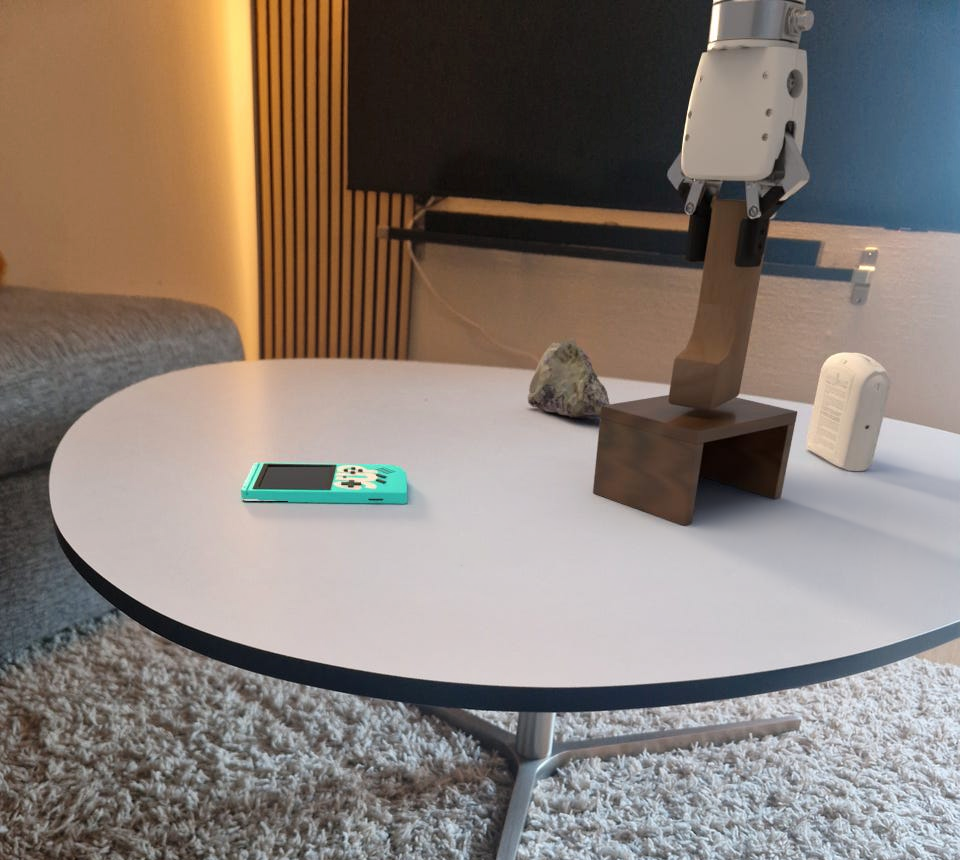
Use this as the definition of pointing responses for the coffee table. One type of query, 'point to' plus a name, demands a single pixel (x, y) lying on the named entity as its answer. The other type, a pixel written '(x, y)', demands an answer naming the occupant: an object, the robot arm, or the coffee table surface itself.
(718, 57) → the robot arm
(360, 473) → the handheld game console
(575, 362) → the mineral rock
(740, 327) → the wooden block
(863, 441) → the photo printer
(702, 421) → the shelf
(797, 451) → the coffee table surface
